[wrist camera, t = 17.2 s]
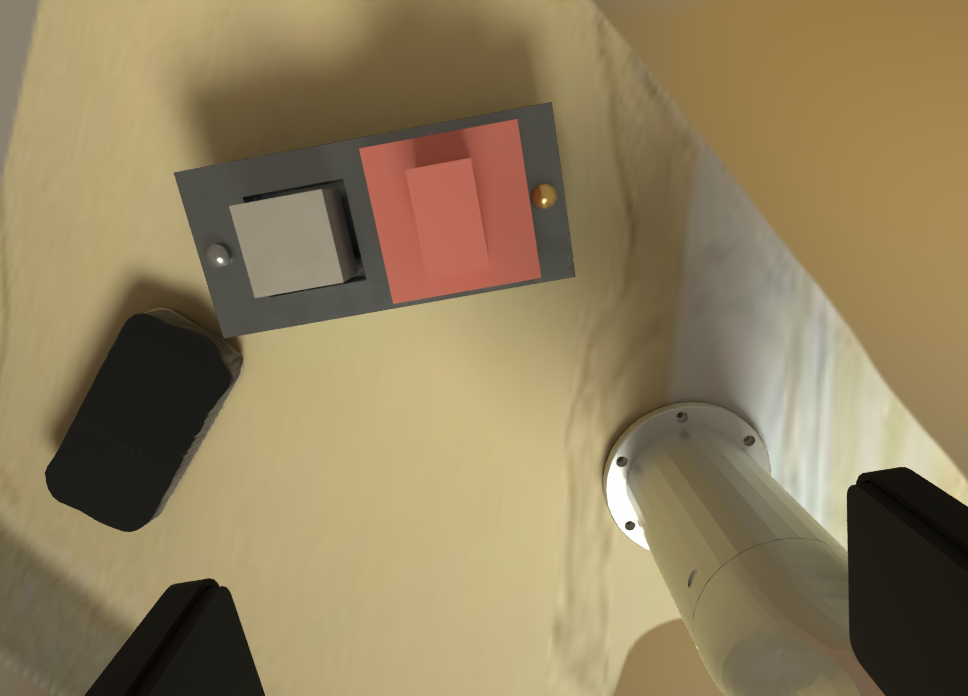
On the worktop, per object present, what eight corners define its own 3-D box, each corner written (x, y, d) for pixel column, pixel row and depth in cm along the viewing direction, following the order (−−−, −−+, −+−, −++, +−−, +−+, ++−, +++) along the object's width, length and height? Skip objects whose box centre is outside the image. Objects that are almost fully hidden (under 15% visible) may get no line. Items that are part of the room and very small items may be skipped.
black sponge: (164, 517, 47) (139, 544, 44) (64, 463, 46) (29, 486, 42) (262, 351, 44) (243, 365, 40) (156, 288, 42) (127, 297, 39)
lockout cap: (536, 270, 36) (552, 293, 28) (399, 294, 36) (379, 323, 28) (513, 124, 34) (524, 106, 26) (369, 151, 34) (337, 141, 26)
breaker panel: (561, 264, 42) (585, 285, 33) (258, 317, 43) (197, 353, 33) (540, 111, 39) (559, 88, 30) (216, 171, 40) (139, 167, 31)
